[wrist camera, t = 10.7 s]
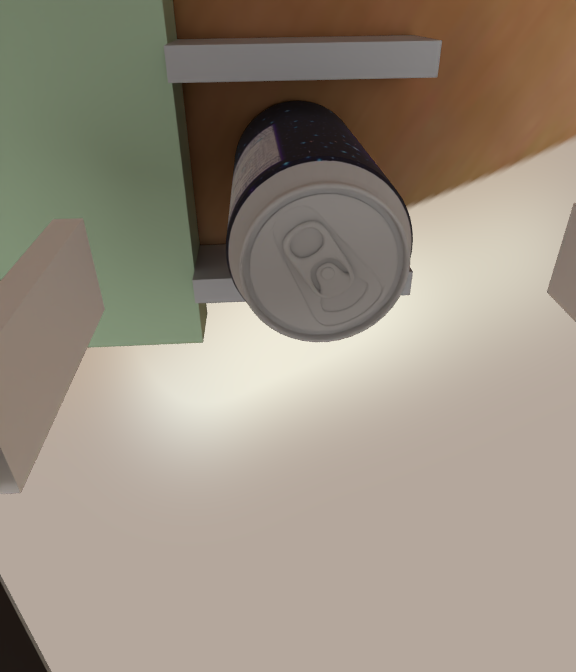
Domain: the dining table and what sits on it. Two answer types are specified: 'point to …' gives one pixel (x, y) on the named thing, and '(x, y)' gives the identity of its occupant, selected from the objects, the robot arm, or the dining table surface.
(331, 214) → the beverage can
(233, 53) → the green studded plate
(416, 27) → the dining table surface
